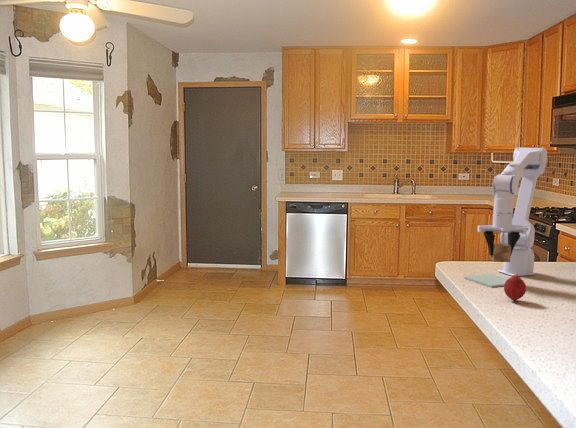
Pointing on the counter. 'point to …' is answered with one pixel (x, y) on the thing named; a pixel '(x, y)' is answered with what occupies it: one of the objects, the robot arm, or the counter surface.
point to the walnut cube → (501, 252)
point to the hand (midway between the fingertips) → (499, 255)
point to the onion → (515, 287)
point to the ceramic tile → (488, 280)
